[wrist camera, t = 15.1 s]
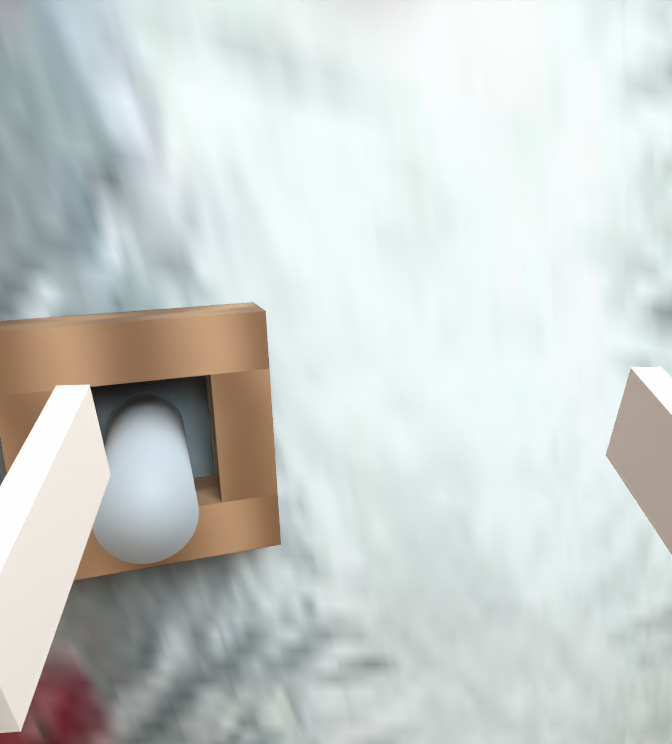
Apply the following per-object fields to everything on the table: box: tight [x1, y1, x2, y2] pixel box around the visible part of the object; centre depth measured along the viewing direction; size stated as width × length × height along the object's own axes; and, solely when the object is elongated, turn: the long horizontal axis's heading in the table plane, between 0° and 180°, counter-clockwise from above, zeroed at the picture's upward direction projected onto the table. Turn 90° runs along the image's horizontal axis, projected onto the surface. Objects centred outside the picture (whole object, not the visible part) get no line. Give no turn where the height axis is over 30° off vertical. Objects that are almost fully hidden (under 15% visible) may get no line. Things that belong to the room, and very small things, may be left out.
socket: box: [0, 303, 281, 580], centre depth 34 cm, size 13×13×4 cm
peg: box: [92, 392, 199, 564], centre depth 31 cm, size 4×4×12 cm
